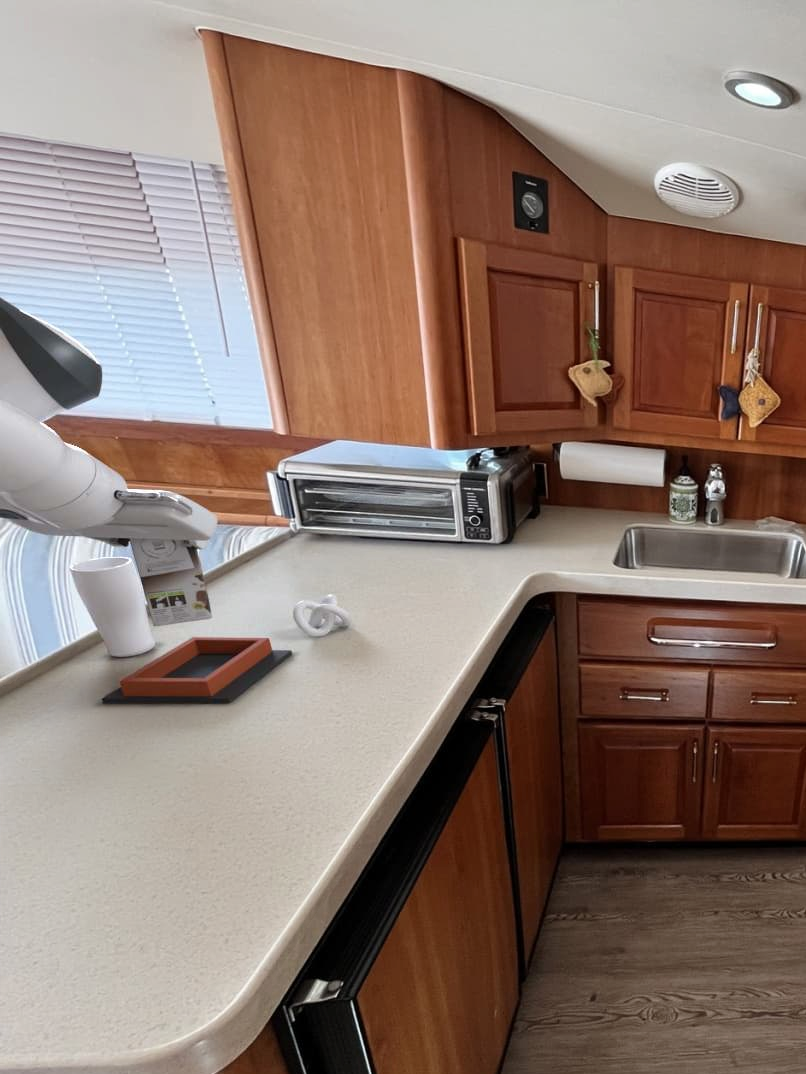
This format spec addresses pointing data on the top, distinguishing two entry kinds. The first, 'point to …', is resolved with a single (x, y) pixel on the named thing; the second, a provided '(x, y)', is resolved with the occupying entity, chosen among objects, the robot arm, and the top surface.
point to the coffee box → (171, 581)
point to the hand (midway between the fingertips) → (162, 543)
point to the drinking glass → (115, 604)
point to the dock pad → (201, 672)
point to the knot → (321, 616)
